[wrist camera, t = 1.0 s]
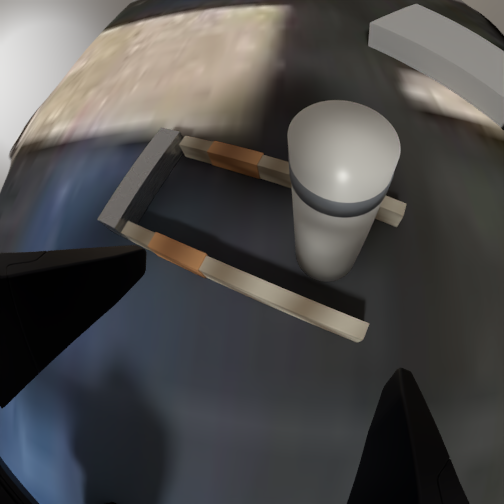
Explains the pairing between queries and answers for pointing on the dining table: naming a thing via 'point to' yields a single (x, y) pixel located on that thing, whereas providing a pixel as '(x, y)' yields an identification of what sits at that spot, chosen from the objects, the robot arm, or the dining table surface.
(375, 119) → the grey capped post
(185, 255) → the beige u-shaped frame
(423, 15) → the disc drive
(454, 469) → the robot arm
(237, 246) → the dining table surface
